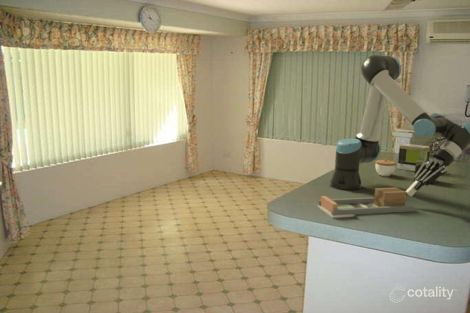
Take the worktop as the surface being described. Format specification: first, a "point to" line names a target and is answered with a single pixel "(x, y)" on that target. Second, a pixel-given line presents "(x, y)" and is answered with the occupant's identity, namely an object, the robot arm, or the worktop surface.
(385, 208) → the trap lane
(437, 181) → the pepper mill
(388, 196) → the walnut block
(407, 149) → the tea box
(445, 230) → the worktop surface
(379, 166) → the lidded jar
